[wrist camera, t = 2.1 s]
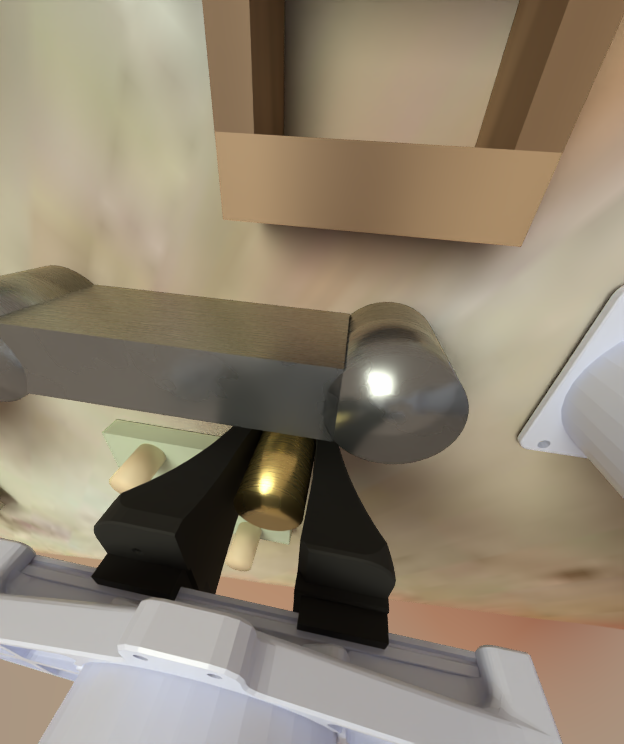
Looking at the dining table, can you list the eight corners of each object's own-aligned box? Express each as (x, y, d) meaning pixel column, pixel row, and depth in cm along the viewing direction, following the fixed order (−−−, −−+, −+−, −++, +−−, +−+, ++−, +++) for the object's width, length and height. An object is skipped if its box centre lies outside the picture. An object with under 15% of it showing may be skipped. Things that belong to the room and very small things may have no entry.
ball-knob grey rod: (448, 308, 11) (494, 366, 7) (418, 394, 13) (441, 473, 10) (14, 260, 13) (-133, 287, 9) (55, 344, 15) (-47, 393, 11)
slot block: (645, -233, 5) (909, -631, 3) (479, 234, 10) (521, 246, 7) (241, -211, 6) (154, -507, 3) (256, 214, 10) (223, 219, 8)
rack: (296, 449, 17) (282, 504, 14) (292, 528, 22) (281, 581, 19) (116, 419, 18) (66, 464, 15) (151, 501, 23) (119, 547, 20)
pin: (324, 391, 14) (304, 496, 9) (320, 427, 16) (301, 536, 11) (275, 383, 14) (230, 482, 9) (276, 420, 16) (236, 523, 11)
